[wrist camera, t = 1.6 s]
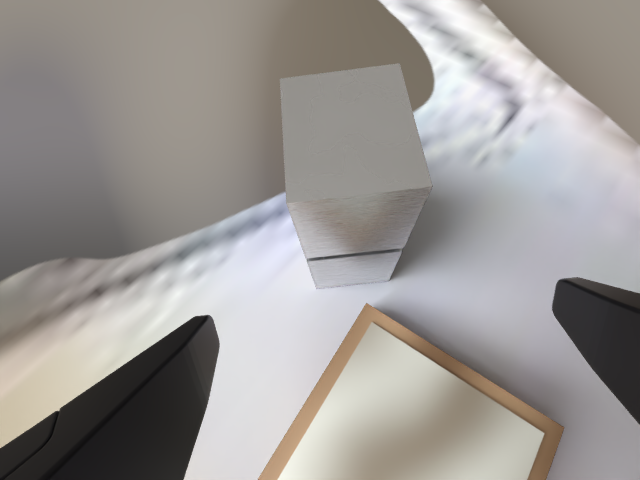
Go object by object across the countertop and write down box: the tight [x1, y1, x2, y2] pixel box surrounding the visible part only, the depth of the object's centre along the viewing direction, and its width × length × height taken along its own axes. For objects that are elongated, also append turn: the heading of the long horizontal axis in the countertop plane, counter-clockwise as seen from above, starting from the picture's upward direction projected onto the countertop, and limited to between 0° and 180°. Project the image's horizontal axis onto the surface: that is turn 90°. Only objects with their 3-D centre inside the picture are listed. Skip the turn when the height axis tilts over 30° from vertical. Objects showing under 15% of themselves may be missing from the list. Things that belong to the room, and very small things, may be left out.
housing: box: [280, 63, 433, 289], centre depth 17 cm, size 6×5×12 cm
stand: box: [258, 303, 564, 480], centre depth 16 cm, size 11×11×3 cm
